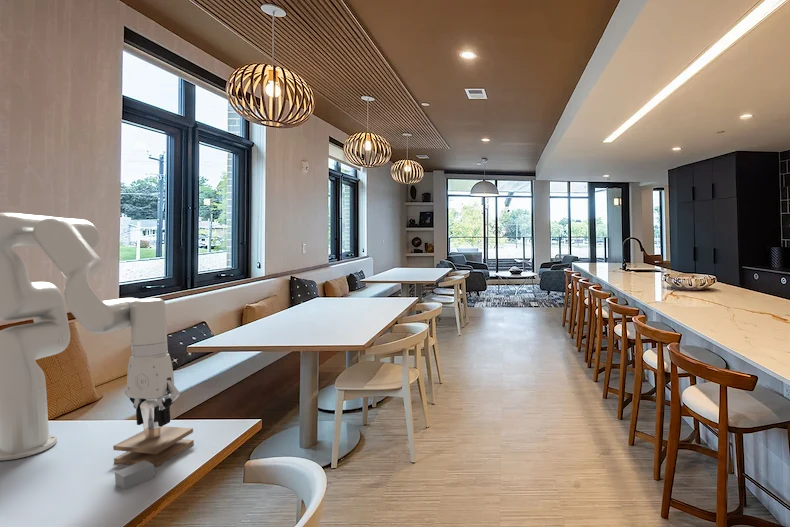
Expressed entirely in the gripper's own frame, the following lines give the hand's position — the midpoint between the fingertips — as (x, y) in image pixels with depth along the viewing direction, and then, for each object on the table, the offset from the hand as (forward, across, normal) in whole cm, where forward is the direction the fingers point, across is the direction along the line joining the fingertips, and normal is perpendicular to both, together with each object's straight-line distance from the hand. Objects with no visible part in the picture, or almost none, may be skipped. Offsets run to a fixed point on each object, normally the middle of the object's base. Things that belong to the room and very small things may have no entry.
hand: (153, 422), depth 105 cm
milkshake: (+4, 0, 0) cm, 4 cm away
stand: (+7, 0, 0) cm, 7 cm away
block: (+8, +6, -12) cm, 15 cm away
